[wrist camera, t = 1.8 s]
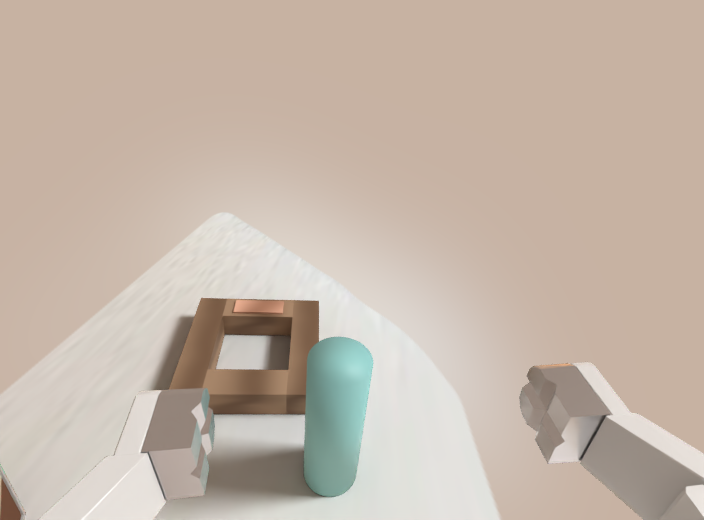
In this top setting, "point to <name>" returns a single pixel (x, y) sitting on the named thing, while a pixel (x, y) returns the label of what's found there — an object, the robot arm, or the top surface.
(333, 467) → the teal peg
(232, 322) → the hole plate
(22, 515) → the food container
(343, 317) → the top surface
